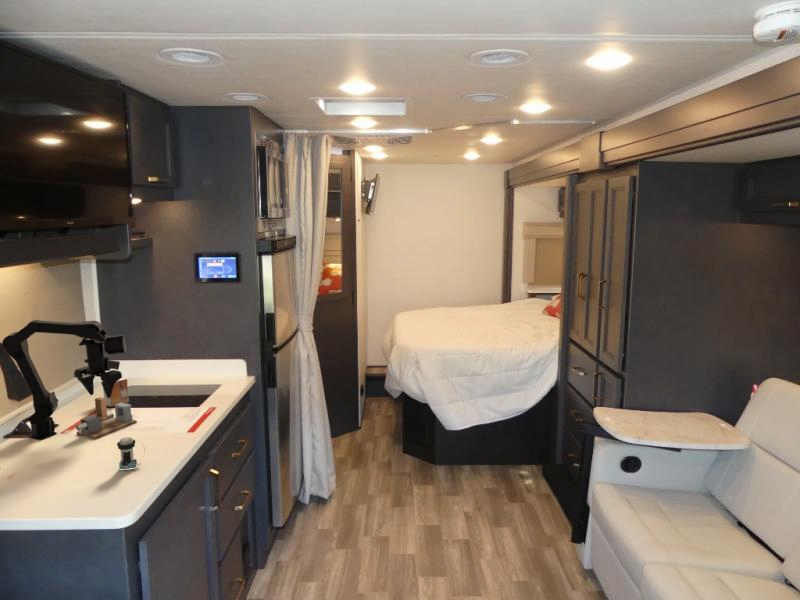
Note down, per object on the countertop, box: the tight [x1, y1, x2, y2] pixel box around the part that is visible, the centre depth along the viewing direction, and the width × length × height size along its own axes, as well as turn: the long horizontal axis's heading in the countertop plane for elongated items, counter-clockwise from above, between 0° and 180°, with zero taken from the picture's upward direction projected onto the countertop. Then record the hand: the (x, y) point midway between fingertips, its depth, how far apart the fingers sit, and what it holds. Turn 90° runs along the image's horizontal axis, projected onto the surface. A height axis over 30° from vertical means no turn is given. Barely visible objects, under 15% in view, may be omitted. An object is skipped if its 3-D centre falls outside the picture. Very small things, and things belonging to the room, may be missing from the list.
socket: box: [114, 403, 134, 422], centre depth 227 cm, size 3×6×6 cm, turn 65°
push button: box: [116, 436, 142, 471], centre depth 187 cm, size 7×5×10 cm
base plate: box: [76, 416, 138, 440], centre depth 221 cm, size 18×10×1 cm, turn 154°
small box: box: [102, 376, 129, 408], centre depth 248 cm, size 8×6×10 cm
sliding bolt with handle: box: [75, 396, 115, 432], centre depth 216 cm, size 14×3×9 cm, turn 154°
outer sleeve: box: [80, 413, 103, 435], centre depth 215 cm, size 6×4×6 cm
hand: (100, 396), depth 218 cm, fingers open, 9 cm apart
